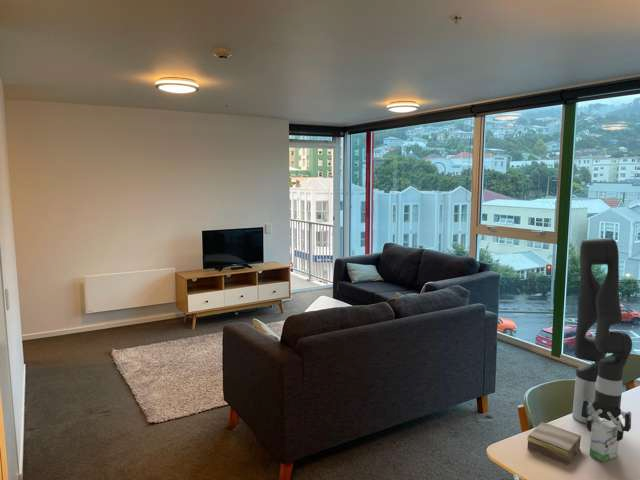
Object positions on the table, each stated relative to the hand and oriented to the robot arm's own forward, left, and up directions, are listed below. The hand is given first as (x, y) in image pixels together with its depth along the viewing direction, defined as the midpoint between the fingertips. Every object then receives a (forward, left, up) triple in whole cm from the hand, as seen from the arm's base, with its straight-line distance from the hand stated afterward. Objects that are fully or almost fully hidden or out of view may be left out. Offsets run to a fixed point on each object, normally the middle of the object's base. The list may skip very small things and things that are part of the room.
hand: (604, 435), depth 159 cm
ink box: (-1, 0, -8) cm, 8 cm away
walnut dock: (+7, -13, -8) cm, 17 cm away
